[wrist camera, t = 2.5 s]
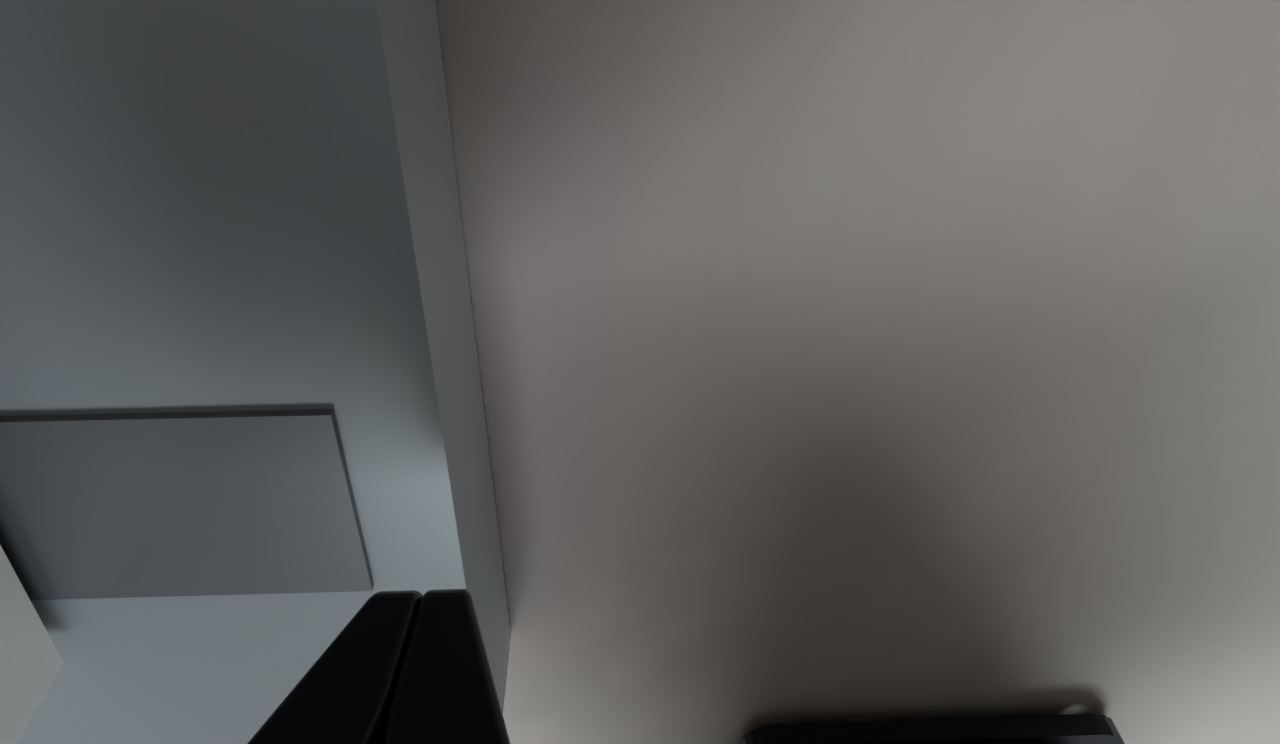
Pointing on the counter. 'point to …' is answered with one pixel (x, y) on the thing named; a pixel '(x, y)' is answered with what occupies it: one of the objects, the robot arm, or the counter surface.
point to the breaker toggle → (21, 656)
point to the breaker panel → (231, 350)
